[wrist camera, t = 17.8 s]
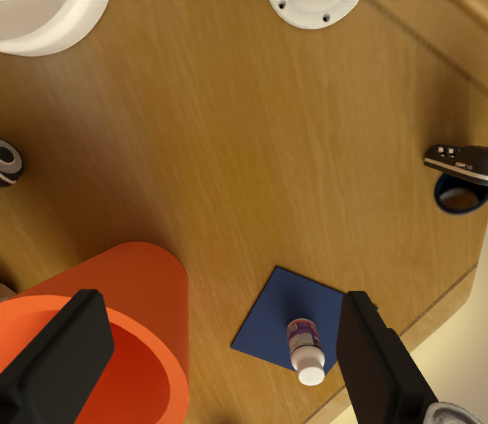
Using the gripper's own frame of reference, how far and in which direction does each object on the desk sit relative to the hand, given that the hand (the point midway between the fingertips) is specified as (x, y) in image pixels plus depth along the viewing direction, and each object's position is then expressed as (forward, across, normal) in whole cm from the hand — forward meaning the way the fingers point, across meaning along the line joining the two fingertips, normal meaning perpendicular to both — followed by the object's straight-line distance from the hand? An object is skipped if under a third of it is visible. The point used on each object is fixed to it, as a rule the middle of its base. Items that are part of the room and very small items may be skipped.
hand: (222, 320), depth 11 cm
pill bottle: (+32, -10, +31) cm, 46 cm away
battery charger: (+32, -29, -1) cm, 44 cm away
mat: (+32, -10, +31) cm, 46 cm away
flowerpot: (+32, +18, +21) cm, 43 cm away
